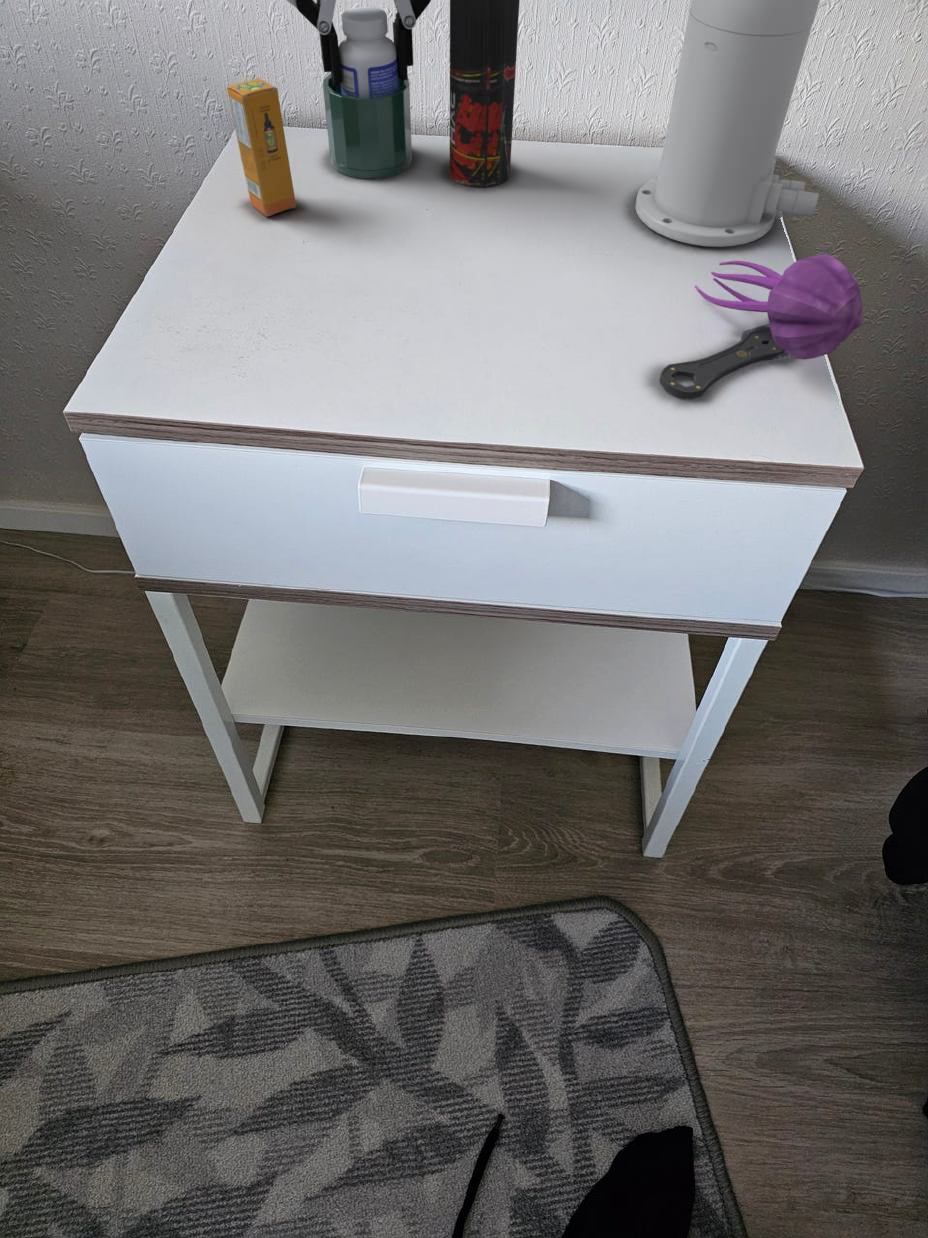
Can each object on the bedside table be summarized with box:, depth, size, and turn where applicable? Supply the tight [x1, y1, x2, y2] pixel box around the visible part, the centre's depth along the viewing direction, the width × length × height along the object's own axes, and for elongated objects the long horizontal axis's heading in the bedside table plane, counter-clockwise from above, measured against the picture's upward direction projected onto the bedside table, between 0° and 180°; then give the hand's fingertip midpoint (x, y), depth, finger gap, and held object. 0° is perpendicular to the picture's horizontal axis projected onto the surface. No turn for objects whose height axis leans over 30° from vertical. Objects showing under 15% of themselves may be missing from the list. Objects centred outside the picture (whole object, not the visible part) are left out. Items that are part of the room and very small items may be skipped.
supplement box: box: [226, 77, 297, 218], centre depth 74 cm, size 3×3×10 cm
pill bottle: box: [338, 6, 399, 97], centre depth 78 cm, size 5×5×10 cm
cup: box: [322, 73, 413, 180], centre depth 81 cm, size 8×8×7 cm
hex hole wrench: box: [659, 323, 792, 400], centre depth 65 cm, size 4×20×1 cm, turn 125°
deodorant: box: [449, 0, 520, 188], centre depth 77 cm, size 6×6×15 cm
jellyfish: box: [694, 253, 863, 360], centre depth 63 cm, size 7×7×15 cm
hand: (369, 74), depth 78 cm, fingers closed on pill bottle, 5 cm apart
